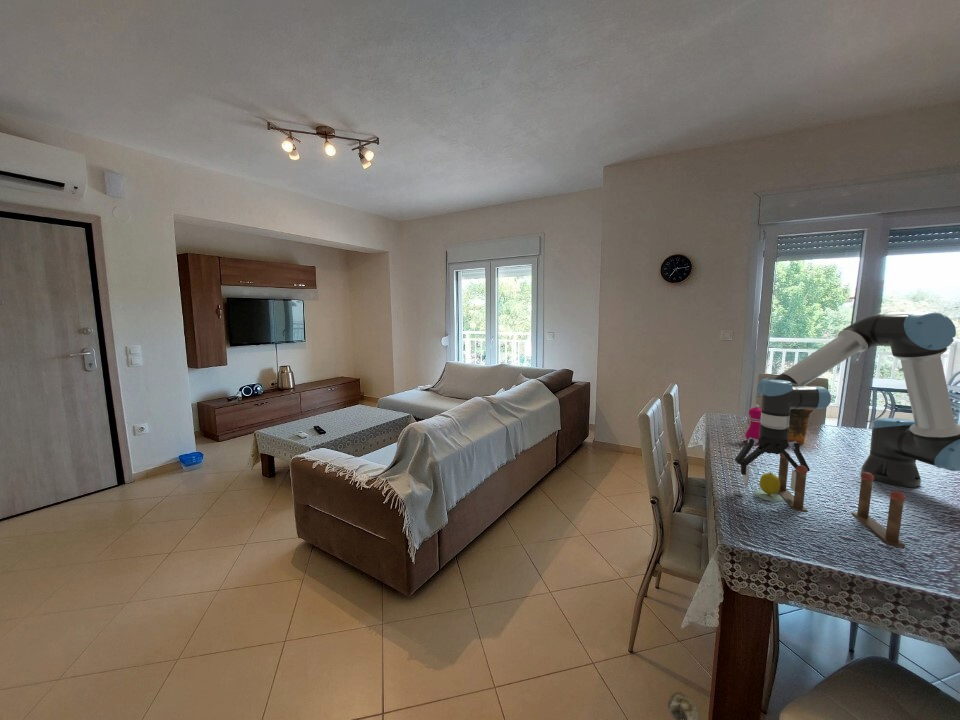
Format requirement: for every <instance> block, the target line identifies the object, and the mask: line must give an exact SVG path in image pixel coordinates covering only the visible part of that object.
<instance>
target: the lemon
mask: <svg viewBox="0 0 960 720" xmlns="http://www.w3.org/2000/svg"><path fill="white" fill-rule="evenodd" d="M759 486H760V487H759V488H760V490H763V491H764V492H765V493H767V495H771V494H778V491H779V489H780V481H779V479H778V476H776V475H775V474H773V473H772V472H768V473H764V474H762V475H761V477H760V478H759Z"/></svg>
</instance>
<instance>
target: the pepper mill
mask: <svg viewBox="0 0 960 720" xmlns="http://www.w3.org/2000/svg"><path fill="white" fill-rule="evenodd" d="M761 409H762V408H760V405H759V404H754V407H752V408H750V409H749V411H748V415H749V419H748V420H749V421H750V424H749V427H748V428H747V430H746V431H745V432H746V433H745V438H746V441H745V442H746V443H747V439H748V437H751V438H753V439H758V438H759V433H760V425H762V424H761V423H760V421H761ZM755 445H756V446H760V445H759V444H758V443H756V444H755ZM755 445H754V446H755Z"/></svg>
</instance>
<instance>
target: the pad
mask: <svg viewBox="0 0 960 720" xmlns="http://www.w3.org/2000/svg"><path fill="white" fill-rule="evenodd" d="M753 494H754V495H755V496H756V497H758V498H760V499H762V500H766V501H769V502H779V503H780V502H783V500H784V499H783V497H782V496H781V495H780V494H779V493H776V494H771V495H767V493H765V492H764V491H763V490H762V489H756V490H753Z"/></svg>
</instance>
